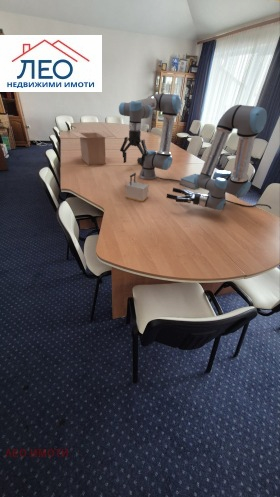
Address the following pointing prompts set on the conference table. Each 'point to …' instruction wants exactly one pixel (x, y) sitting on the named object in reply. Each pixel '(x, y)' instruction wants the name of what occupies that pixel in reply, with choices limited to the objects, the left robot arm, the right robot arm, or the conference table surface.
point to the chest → (136, 193)
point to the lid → (136, 183)
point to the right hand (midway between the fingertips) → (169, 192)
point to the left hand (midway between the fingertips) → (133, 164)
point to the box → (92, 146)
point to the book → (189, 181)
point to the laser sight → (139, 159)
